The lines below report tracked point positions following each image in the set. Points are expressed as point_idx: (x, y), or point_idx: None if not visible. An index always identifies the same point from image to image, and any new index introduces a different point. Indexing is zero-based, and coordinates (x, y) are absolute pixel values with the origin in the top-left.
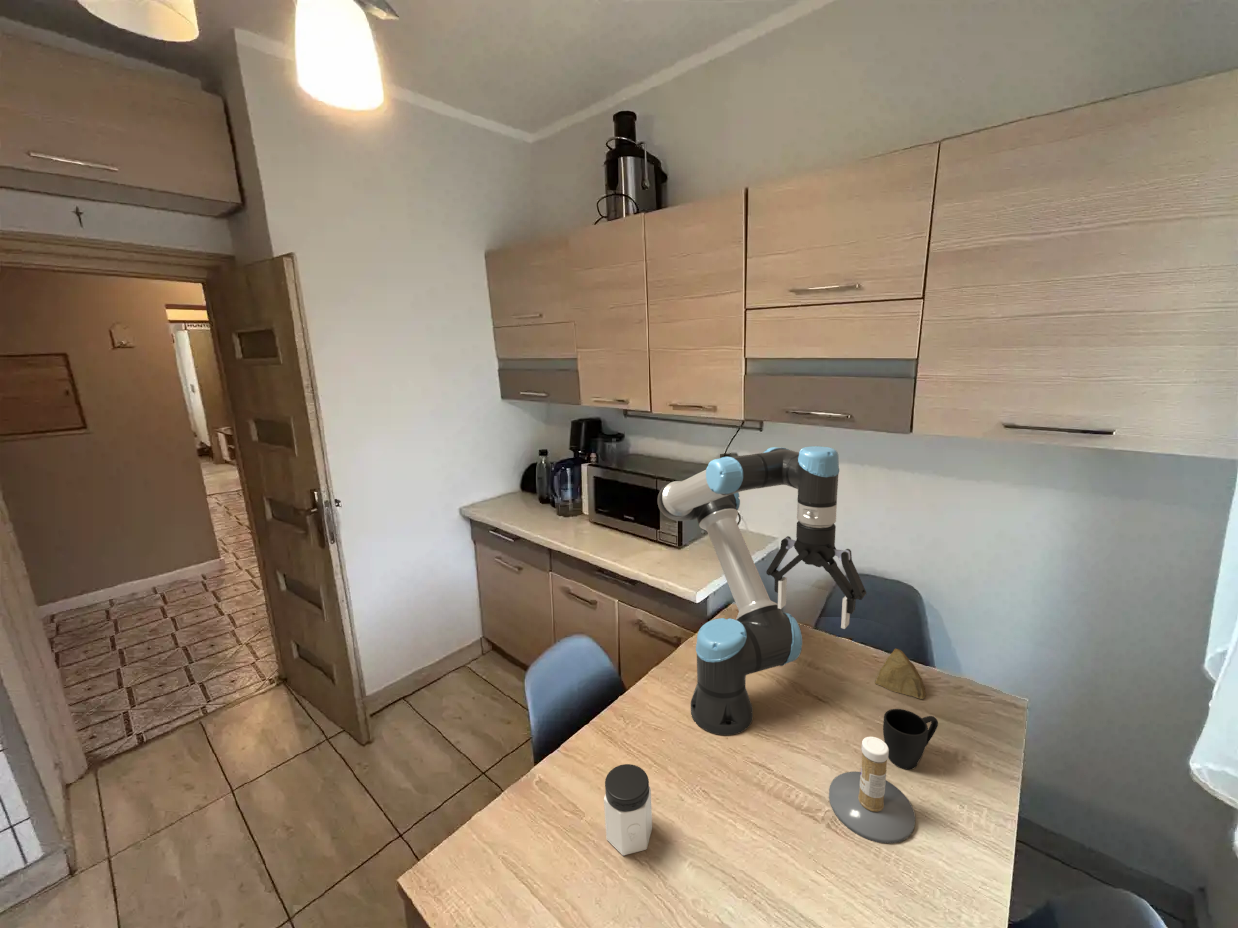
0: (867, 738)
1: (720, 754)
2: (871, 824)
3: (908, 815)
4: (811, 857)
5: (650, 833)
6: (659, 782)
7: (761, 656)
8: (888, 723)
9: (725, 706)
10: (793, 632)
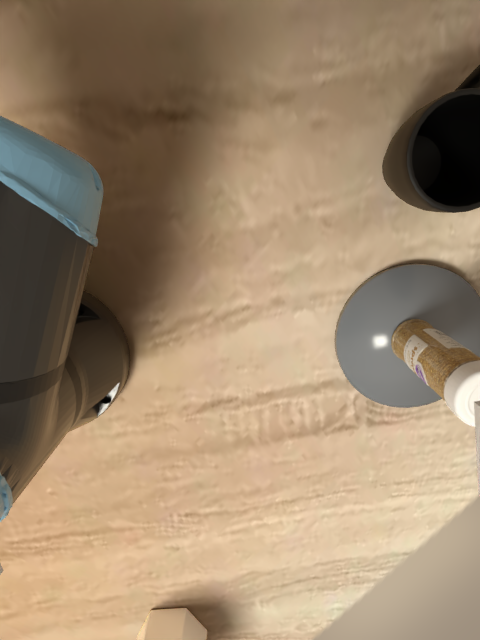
0: (464, 393)
1: (146, 439)
2: None
3: (474, 314)
4: (377, 484)
5: (193, 618)
6: (127, 553)
7: (52, 369)
8: (429, 199)
9: (82, 418)
10: (38, 200)
